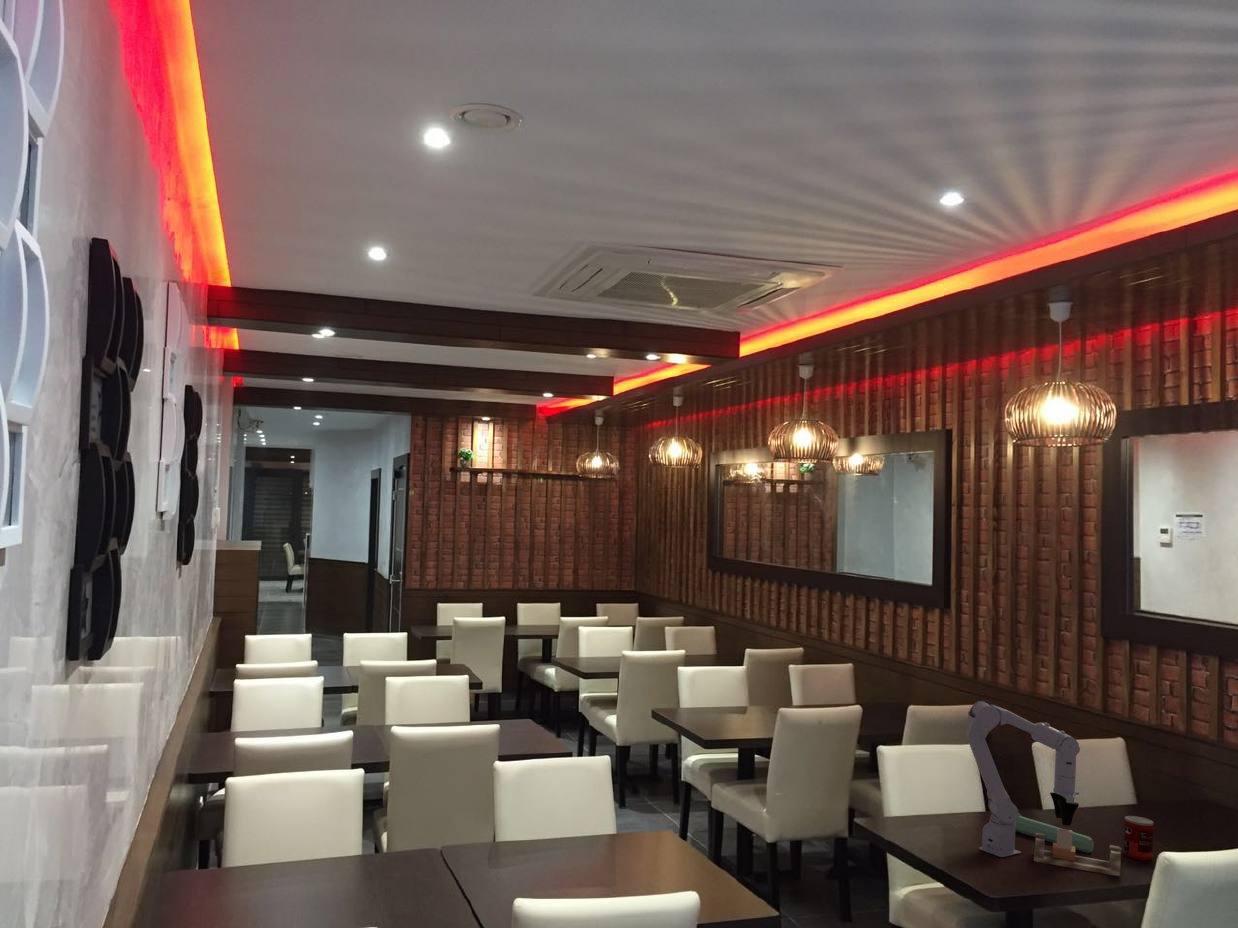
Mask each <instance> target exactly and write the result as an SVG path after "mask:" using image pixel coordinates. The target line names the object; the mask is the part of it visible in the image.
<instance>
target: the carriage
mask: <svg viewBox="0 0 1238 928" xmlns="http://www.w3.org/2000/svg"><path fill="white" fill-rule="evenodd" d="M1072 832H1073V830H1072V829H1066V828H1062V829H1061V827H1059V828H1057V843H1052V852H1053V857H1055V858H1061V859H1066V860H1072V861H1075V856H1076V850H1075V847H1074V846H1072Z"/></svg>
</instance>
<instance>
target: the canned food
mask: <svg viewBox="0 0 1238 928" xmlns="http://www.w3.org/2000/svg"><path fill="white" fill-rule="evenodd" d="M1123 822H1124V823H1123V824H1124V826H1123V854H1124V855H1125V856H1126V857H1128V858H1131V859H1133V860H1134V859H1135V860H1139V861H1151V860H1152V858H1153V857H1154V856H1153V853H1154V828H1155V827H1154V821H1153V820H1151V819H1149V818H1146V817H1142V816H1137V815H1126V816H1124V821H1123Z"/></svg>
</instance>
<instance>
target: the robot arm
mask: <svg viewBox="0 0 1238 928" xmlns="http://www.w3.org/2000/svg"><path fill="white" fill-rule="evenodd" d="M967 717H968V720H967V725H966V730H965V736H966V740H967V742H968V745H969V747H970V750H971V753H972V755H973V757H974V760H975V763H976V765H977V768H978V770H979V773H980V775H981V776H980V777H981V778H982V780H983V783H984V786H985V788H986V790H987V791H986V795H987V798H988V810H989V812H991V815H990V817H989V821H988V822H987V823H986V824H984V825H983V828H982V835H981V836H982V837H981V846H980V847H979V850H980V851H983V852H986V853H988V854H992V855H994V856H997V857H1000V858H1004V857H1005V858H1006V857H1010V856H1015V855H1020V854H1021V853H1022V851H1020V850H1018V849H1015V847H1016V832H1015V826H1016V820H1017V818H1018V815H1019V814H1020V813H1019V809H1018V808H1017V806H1016V805H1015V804H1014V803H1013V802H1012V800H1011V798H1010V796H1009V794H1008V792H1007V791H1006V789H1005V786H1004V784H1003V782H1002V779H1001V777H1000V774H999V771H998V769H997V766H996V763H995V761H994V759H993V756H992V753H991V751H990V748H989V746H988V744H987V743H988V742H987V741H986V738H987V736H988V734H989V733H990V732H991V731H992V730H993V729H994V728H996V727H997V726H998V725H1000V726H1003V725H1006V724H1008V725H1011V726H1013V727H1015V728H1017V729H1019V730H1022V731H1025V732H1026V733H1029V734H1030V735H1031V738H1032V740H1034V741H1036V742H1038V743H1040V744H1041V745H1044V746H1046V747H1048V748H1050V749H1053V750H1055V761H1054V784H1053V790H1052V791H1051V792H1049V795H1050V797H1051V799H1052V802H1053V808H1054V814H1055V818H1056V819H1061V823H1062V825H1063V826H1067V827H1070V826H1072V823H1073V818H1074V815H1075V813H1076V810H1077V809H1078V808H1079V805H1080V804H1079V803H1078V802H1075V796H1076V795H1077V796H1078V795H1080V792H1079V791H1078V790H1076V776H1077V775H1076V774H1077V773H1076V771H1077V770H1076V769H1077V755H1078V754H1079V753H1080V751H1081V746H1080V745H1079V742H1078V740H1077V739H1076V738H1074V737H1073V736H1071V735H1069V734H1067V733H1066V732H1065V731H1064V730H1062V729H1061V730H1058V729H1056V728H1054V727H1052V726H1051V724H1050V723H1048V722H1046V721H1045V722H1041V721H1040V722H1036V723H1034V722H1031V721H1029V720H1027V719H1026V718H1023V717H1022V716H1019V715H1017V714H1016V713H1014V712H1012V711H1010V710H1008V709H1006V708H1002V707H1000V706H998V705H995V704H990V703H988V702H986V701H983V700H981V701H980V700H979V701H976V702H975V703H973V704H972V705H971V707H970V709H969V711H968V713H967Z"/></svg>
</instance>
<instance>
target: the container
mask: <svg viewBox="0 0 1238 928" xmlns="http://www.w3.org/2000/svg"><path fill="white" fill-rule="evenodd" d="M1057 828H1061V827H1058V826H1055V825H1052V824H1048V823H1045V822H1041V821H1038V820H1035V819H1032V818H1028V817H1025V816H1023V815H1021V814H1020V813H1019V815H1018V818H1017V820H1016V826H1015V833H1020V834H1024V835H1027V836H1030V837H1034V838H1036V837H1035V834H1036V833H1041V834H1045V835H1046V838H1045V841H1047V842H1050V843H1052V844H1053V843H1057ZM1061 829H1063V828H1061ZM1094 844H1095V841H1094V839H1092V837H1090V836H1088V835H1085V834H1081V833H1078V832H1075V831H1072V846H1074V847H1075V851H1080V852H1083V853H1085V854H1090V853H1092V852H1093V850H1094V848H1095V847H1094V846H1095V845H1094Z"/></svg>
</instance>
